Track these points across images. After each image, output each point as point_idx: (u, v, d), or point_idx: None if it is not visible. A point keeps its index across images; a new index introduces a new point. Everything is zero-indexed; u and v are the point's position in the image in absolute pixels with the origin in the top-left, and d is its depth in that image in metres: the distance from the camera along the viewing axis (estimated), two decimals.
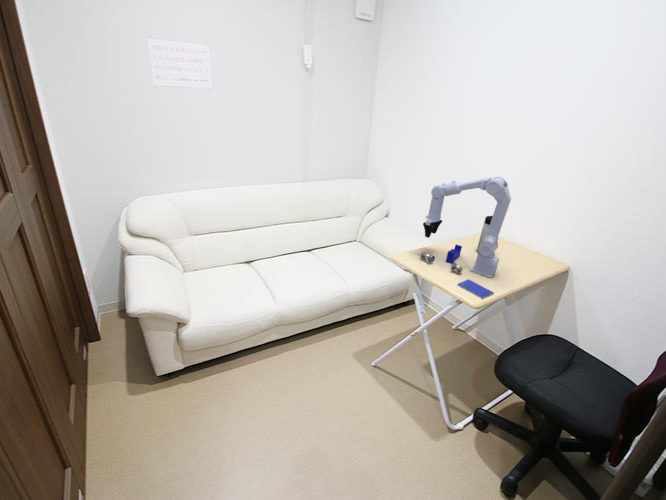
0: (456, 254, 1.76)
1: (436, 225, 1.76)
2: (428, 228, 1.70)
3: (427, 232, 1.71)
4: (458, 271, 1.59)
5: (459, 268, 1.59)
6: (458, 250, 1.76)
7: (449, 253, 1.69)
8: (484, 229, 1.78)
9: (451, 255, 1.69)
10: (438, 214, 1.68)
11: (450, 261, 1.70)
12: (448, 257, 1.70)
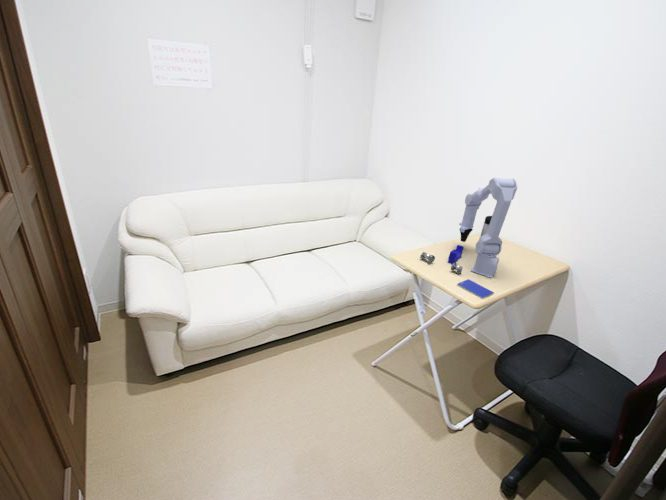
0: (458, 254, 1.75)
1: None
2: (464, 233, 1.82)
3: (463, 237, 1.83)
4: (458, 271, 1.59)
5: (459, 268, 1.59)
6: (460, 250, 1.76)
7: (451, 254, 1.68)
8: (484, 229, 1.78)
9: (453, 256, 1.68)
10: (472, 222, 1.77)
11: (452, 262, 1.69)
12: (450, 258, 1.69)
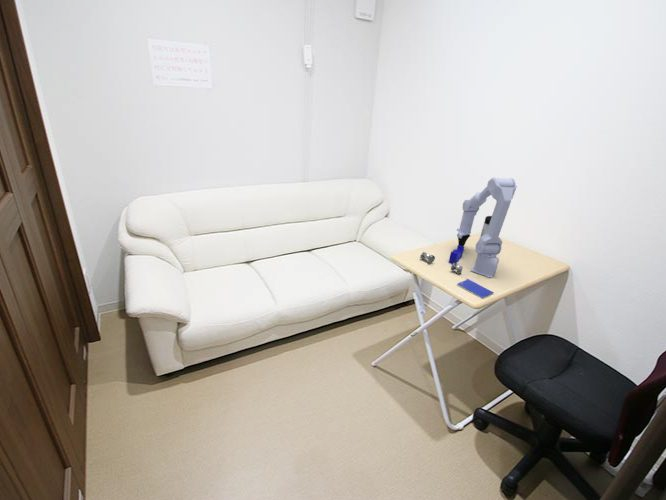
0: (459, 255, 1.75)
1: None
2: (462, 239, 1.82)
3: (461, 242, 1.83)
4: (458, 271, 1.59)
5: (459, 268, 1.59)
6: (460, 251, 1.76)
7: (452, 254, 1.68)
8: (484, 229, 1.78)
9: (454, 256, 1.68)
10: (469, 227, 1.77)
11: (453, 262, 1.69)
12: (451, 258, 1.69)
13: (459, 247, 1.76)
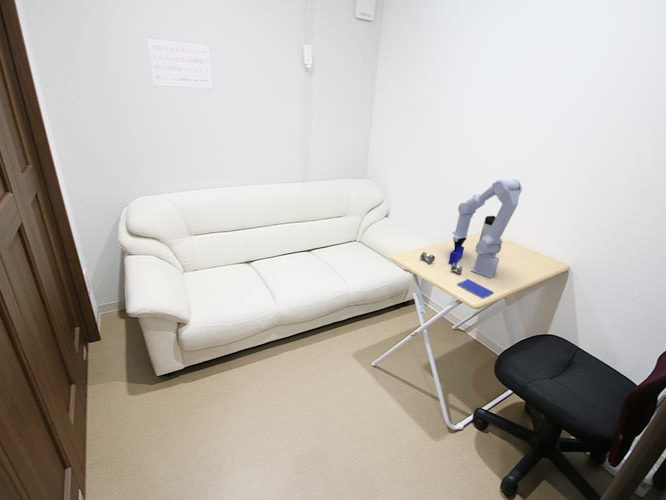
0: (458, 255, 1.74)
1: None
2: (458, 242, 1.77)
3: (457, 246, 1.78)
4: (458, 271, 1.59)
5: (459, 268, 1.59)
6: (460, 251, 1.75)
7: (452, 254, 1.67)
8: (484, 229, 1.78)
9: (454, 256, 1.67)
10: (465, 230, 1.72)
11: (453, 262, 1.68)
12: (451, 258, 1.68)
13: (459, 247, 1.75)
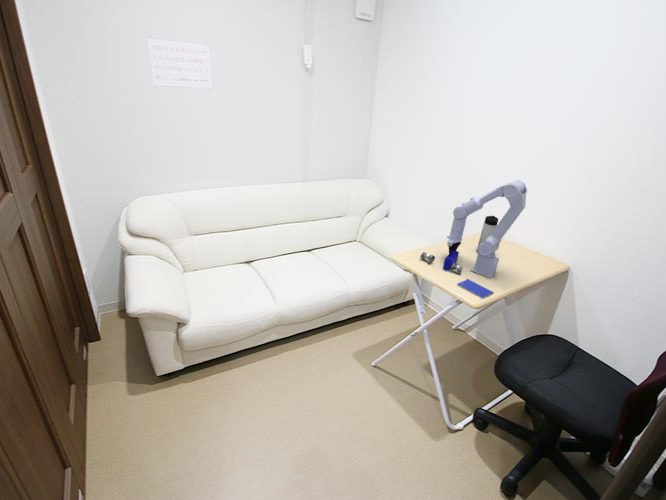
0: (453, 260, 1.68)
1: None
2: (452, 246, 1.71)
3: (451, 250, 1.72)
4: (458, 271, 1.59)
5: (459, 268, 1.59)
6: (455, 256, 1.69)
7: (446, 259, 1.61)
8: (484, 229, 1.78)
9: (448, 262, 1.61)
10: (460, 235, 1.66)
11: (447, 268, 1.62)
12: (445, 264, 1.62)
13: (453, 252, 1.69)
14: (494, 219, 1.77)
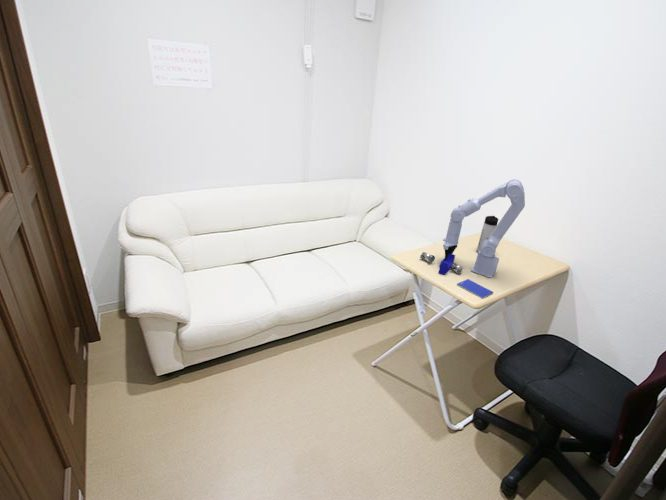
0: (449, 264, 1.64)
1: None
2: (448, 250, 1.67)
3: (447, 254, 1.68)
4: (458, 271, 1.59)
5: (459, 268, 1.59)
6: (451, 259, 1.65)
7: (442, 263, 1.57)
8: (484, 229, 1.78)
9: (444, 265, 1.57)
10: (456, 238, 1.62)
11: (443, 272, 1.58)
12: (441, 267, 1.58)
13: (450, 255, 1.65)
14: (494, 219, 1.77)
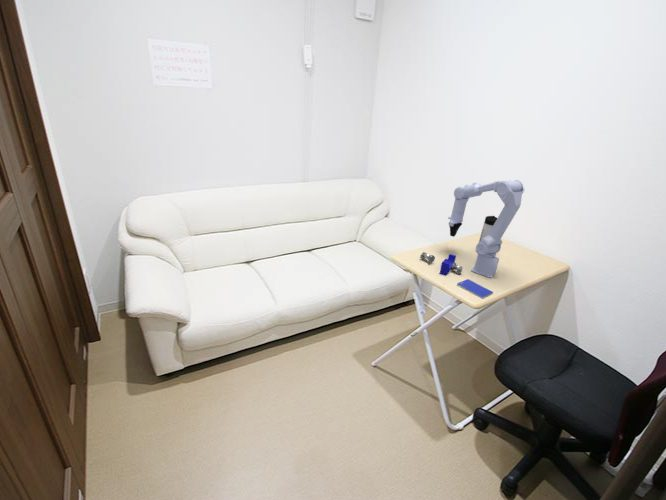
0: (450, 264, 1.64)
1: None
2: (453, 227, 1.76)
3: (452, 231, 1.77)
4: (458, 271, 1.59)
5: (459, 268, 1.59)
6: (452, 260, 1.65)
7: (443, 264, 1.57)
8: (484, 229, 1.78)
9: (445, 266, 1.57)
10: (461, 215, 1.71)
11: (444, 272, 1.58)
12: (442, 268, 1.58)
13: (451, 256, 1.65)
14: (494, 219, 1.77)
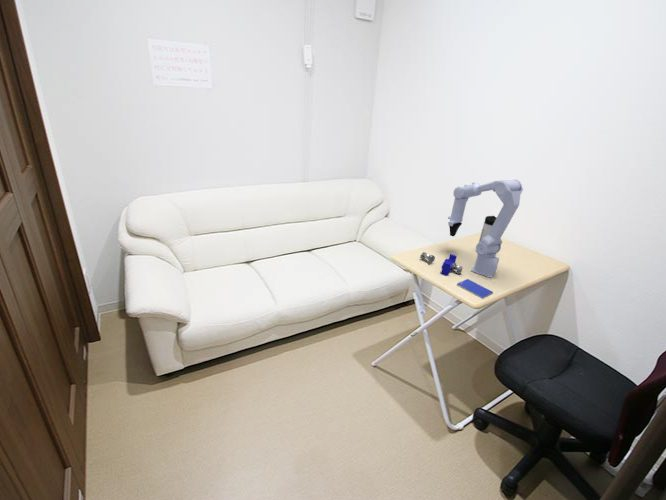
0: (451, 264, 1.64)
1: None
2: (453, 227, 1.76)
3: (452, 231, 1.77)
4: (458, 271, 1.59)
5: (459, 268, 1.59)
6: (453, 260, 1.65)
7: (444, 264, 1.57)
8: (484, 229, 1.78)
9: (447, 266, 1.57)
10: (461, 215, 1.72)
11: (446, 273, 1.58)
12: (443, 268, 1.58)
13: (451, 256, 1.65)
14: (494, 219, 1.77)
